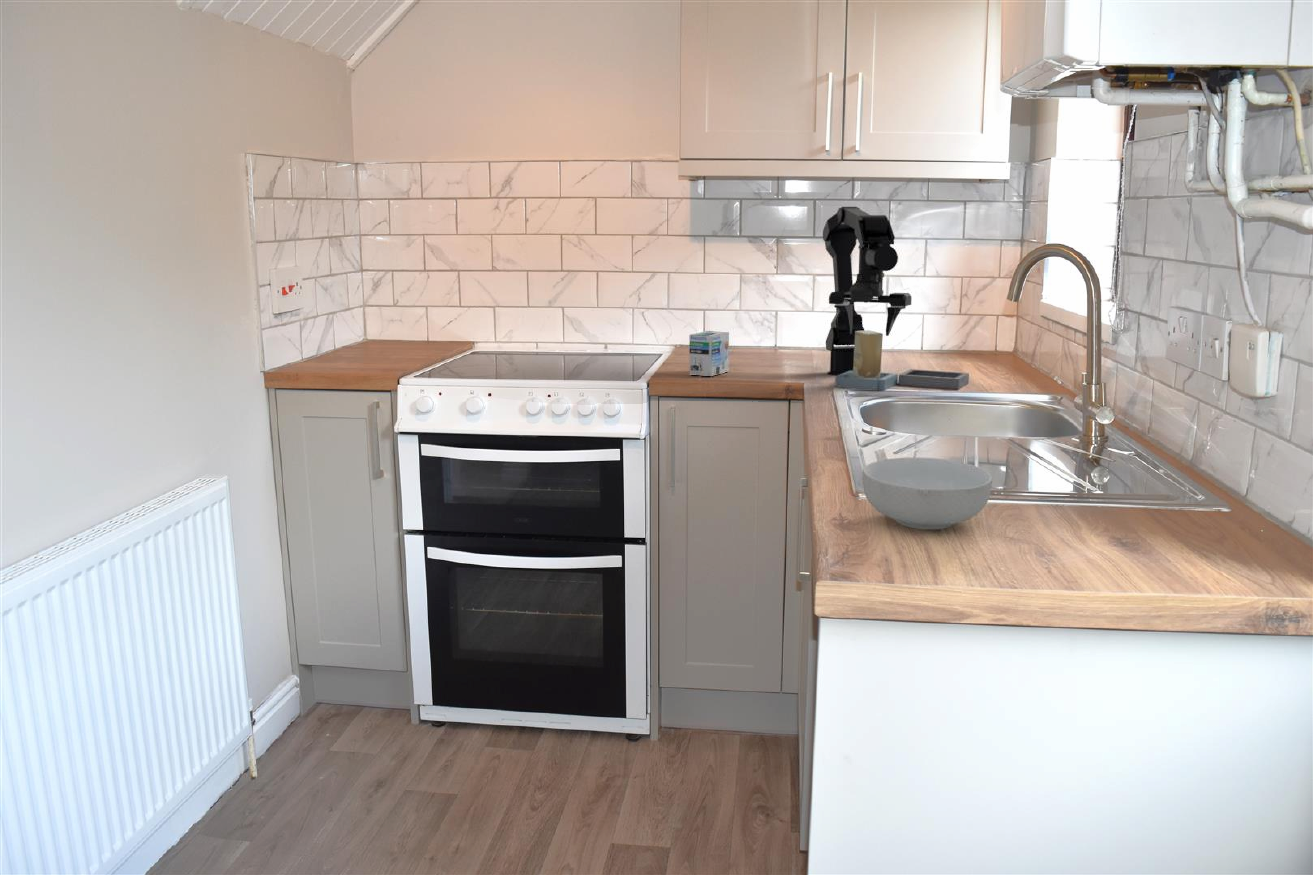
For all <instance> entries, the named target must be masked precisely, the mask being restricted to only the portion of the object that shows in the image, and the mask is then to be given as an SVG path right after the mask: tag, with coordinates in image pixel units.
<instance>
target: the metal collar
mask: <svg viewBox="0 0 1313 875" xmlns="http://www.w3.org/2000/svg"><path fill="white" fill-rule="evenodd" d="M969 381H970V373H969V372H956V371H944V370H943V371H941V370H929V369H916V368H915V369H912V368H910V369H909V370H906V371H904V372H901V373H900V374H898V383H897V385H898V386H904V385H905V386H907V387H918V388H919V387H920V388H921V387H922V388H932V389H934V388H935V389H943V390H944V389H947V390H958V391H959V390H960V389H962V388H963V387H965V386H966V385H968V384H969Z"/></svg>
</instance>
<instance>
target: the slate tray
mask: <svg viewBox="0 0 1313 875" xmlns="http://www.w3.org/2000/svg"><path fill="white" fill-rule="evenodd" d="M834 377H835V378H834V379H835V381H834V387H835V386H840V387H847V388H846V389H852V388H858V389H857V390H865V389H867V391H886V390H889V389H890V388H892V387H894V386H896V385H898V383H899V374H898V373H894V372H887V371H886V372H885V371H884V372H883V371H881V373H880V379H872V378H859V377H853V371H847V372H845V373H842V374H840V375H835V376H834ZM840 387H839V388H840Z"/></svg>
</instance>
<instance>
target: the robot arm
mask: <svg viewBox="0 0 1313 875" xmlns="http://www.w3.org/2000/svg"><path fill="white" fill-rule="evenodd" d="M895 239H896V237H895V233H894V230H893V227H892V225H891V222H890V220H889V219H888V217H887V215H885V214H883V215H882V214H877V215H876V214H869V213H867V212H865V211H863V210H862V209H861V208H860V207H857V206H841V207H839V208H838V210H837V211H836V213H835V214H833V215H832V216H830V217H829V218H828V219H827V220H826V222H825V225H824V227H823V229H822V240H823V242H824V245H825V251H826V252H827V253H828V255H829V256H830V258H832V268H833V270H832V271H833V281H834V282H833V283H834V291H832V292H831V293H830V294H829V295H828V304H829V305H833V307H834V308H835V315H834V317H833V319H832V320H831V322H830V329H829V331H828V334H827V337H826V339H825V350H827V351H829V352H830V358H829V359H830V362H829V366H830V367H829V371H828V372H827V374H828V375H835V376H837V375H840V374H842V373H845V372H847V371H853V363H854V344H855V331H866V330H865V328H864V324H863V316H862V314H858V312H857V311H856V310H855V308H856V307H855V303H864V304H865V303H876V304H877V303H878V304H889V305H890V306H887V307H886V311H887V317H886V325H885V326H886V327H885V336H886V337H889V335H890V334H891V331H892V328H893V327H894V324H895V322H896V319H897V317H898V316H899V314H900V313H901V311H902V310H905V309H906V307H907V306H908V307H909V306H911V305H912V295H911V293H910V292H892V293H889V294H888V295H885V294H884V289H883V284H884V283H883V282H884V278H885V272H889V271H890V270H891V271H892V270H894V268H895V266H896V265H897V264H898V261H899V255H898V253H897V250H896V249H895V248H894V247H893V246H891V245H895ZM857 241H858V244H859V245H858V247H857V248H858V250H859V252H858V273H856V280H855V282H854V283H853V280H854V279H853V268H852V253H853V251H854V250H855V248H856V246H857Z"/></svg>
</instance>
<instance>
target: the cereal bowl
mask: <svg viewBox="0 0 1313 875" xmlns="http://www.w3.org/2000/svg"><path fill="white" fill-rule="evenodd" d="M992 484H993V478H992V476H991V474H990V473H989V472H988V471H986V470H985V469H983V468H980V467H979V466H977V465H973V464H970V463H966V462H961V461H956V460H952V459H951V460H950V459H945V458H936V457H894V458H889V459H888V458H887V459H881V460H876V461H874V462H871V463H869V464H867V465H866V466H864V467H863V470H862V486H863V487H862V488H863V489H862V490H863V492H864V493H863V494H864V495H865V498H866V500H867V502H868V503H869V504H870V505H871V506H872V507H873V509H874V510H876V511H878V512H879V513H880V514H882V515H884V516H886V517H888V518H891V519H892V520H894V521H895V522H896V523H897V524H900V525H902V526H904V527H907V528H912V529H917V530H929V531H931V530H932V531H934V530H942V529H946V528H950V527H952V526H953V525H955V524H959V523H962V522H966V521H968V520H971V519H972V518H974V517H975V516H977V515H978V514H979V513H981V511H983V510H984V508H985V507H986V505H987V504H988V502H989V498H990V496H991V491H992V487H993V486H992Z"/></svg>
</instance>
